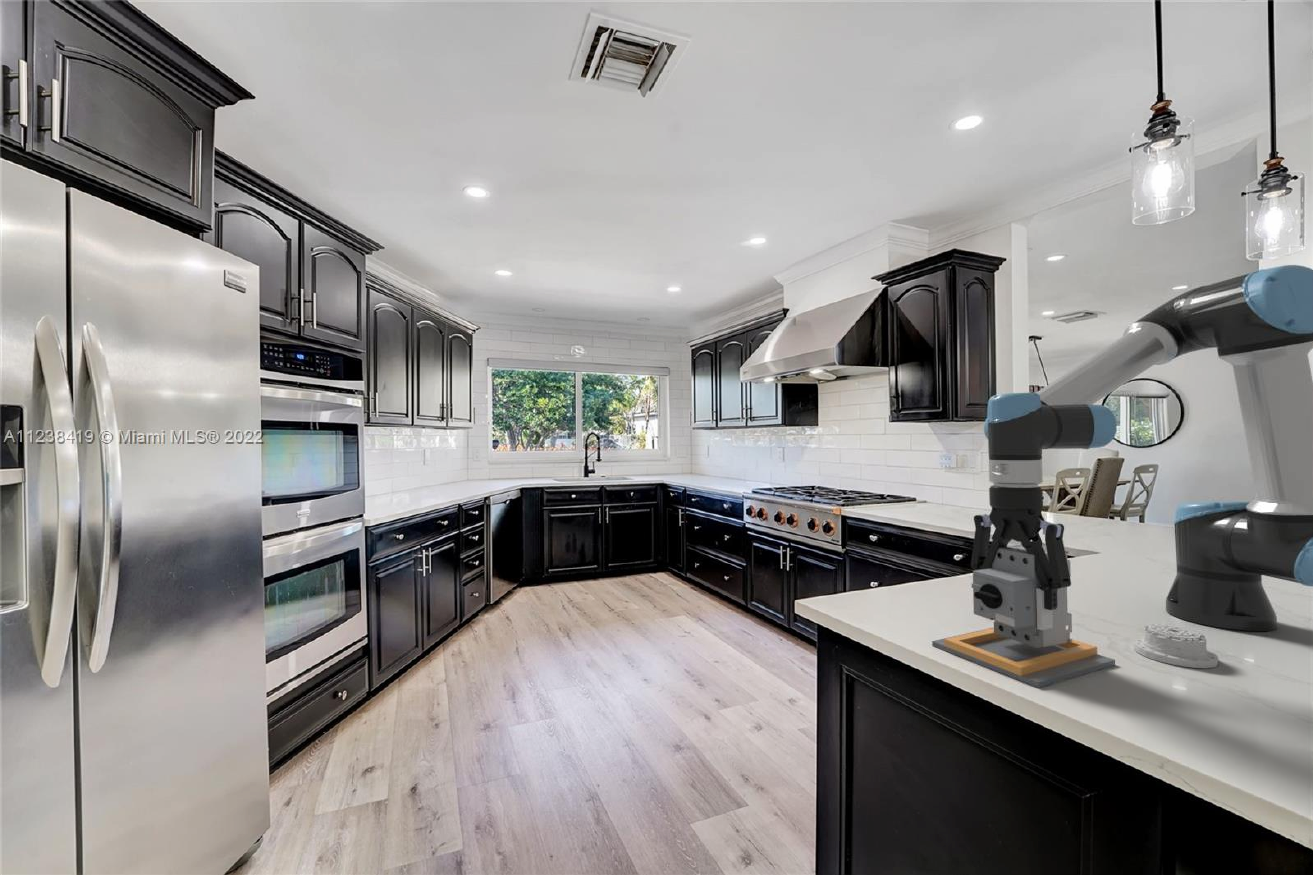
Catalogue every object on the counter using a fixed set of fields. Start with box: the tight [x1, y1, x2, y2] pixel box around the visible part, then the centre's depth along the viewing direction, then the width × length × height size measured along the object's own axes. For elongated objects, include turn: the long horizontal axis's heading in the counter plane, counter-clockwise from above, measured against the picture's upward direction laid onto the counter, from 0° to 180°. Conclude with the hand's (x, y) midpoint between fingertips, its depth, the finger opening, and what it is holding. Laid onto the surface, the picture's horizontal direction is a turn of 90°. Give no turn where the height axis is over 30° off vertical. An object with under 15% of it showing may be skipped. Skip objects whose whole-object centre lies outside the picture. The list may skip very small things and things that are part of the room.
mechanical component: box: [1133, 623, 1219, 669], centre depth 89 cm, size 10×4×10 cm
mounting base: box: [931, 626, 1116, 689], centre depth 91 cm, size 19×18×2 cm
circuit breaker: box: [971, 543, 1073, 648], centre depth 91 cm, size 8×14×15 cm, turn 107°
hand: (1018, 620), depth 91 cm, fingers closed on circuit breaker, 8 cm apart
